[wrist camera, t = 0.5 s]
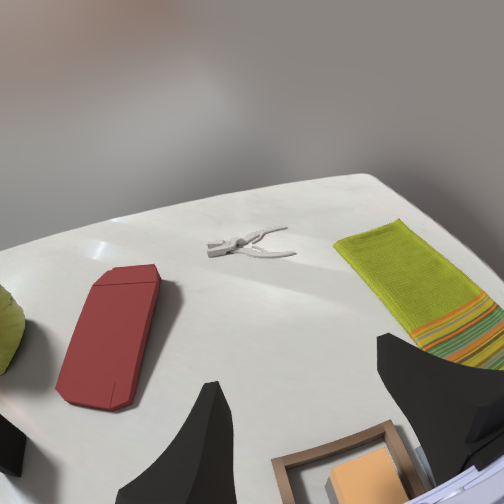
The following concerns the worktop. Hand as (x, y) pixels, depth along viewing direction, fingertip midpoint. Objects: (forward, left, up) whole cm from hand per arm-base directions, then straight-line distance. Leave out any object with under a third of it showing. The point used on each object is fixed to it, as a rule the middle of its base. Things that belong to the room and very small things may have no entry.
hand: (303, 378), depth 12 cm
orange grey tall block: (-5, -4, -18) cm, 19 cm away
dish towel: (+17, -25, -19) cm, 35 cm away
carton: (+24, +20, -19) cm, 37 cm away
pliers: (+40, -3, -19) cm, 44 cm away
